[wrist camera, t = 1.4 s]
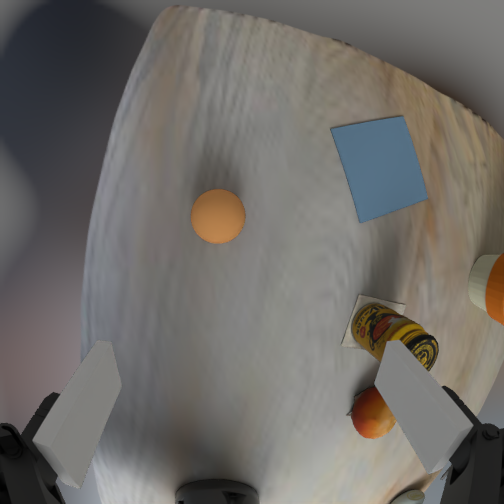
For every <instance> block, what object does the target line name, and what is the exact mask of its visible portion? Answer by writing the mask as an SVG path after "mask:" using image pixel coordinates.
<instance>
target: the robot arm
mask: <svg viewBox="0 0 504 504" xmlns="http://www.w3.org/2000/svg"><path fill="white" fill-rule="evenodd" d="M374 384H375V386H376V388H377V389H378V391H379V392H380V394H381V396H382V397H383V399H384V401H385V402H386V404H387V405H388V407H389V409H390V410H391V412H392V414H393V415H394V417H395V419H396V420H397V422H398V423H399V425H400V427H401V428H402V430H403V432H404V433H405V435H406V437H407V439H408V440H409V442H410V444H411V445H412V447H413V449H414V450H415V452H416V454H417V455H418V457H419V459H420V461H421V462H422V464H423V466H424V468H425V469H426V471H427V473H428V475H429V474H431V473H433V472H436V471H438V470H440V469H442V468H443V467H444V466H445V464H446V463H447V462H448V461H450V462H451V463H452V465H451V466H450V467H449V468H448V470H447V471H446V472H445V473H444V474H443V476H442V477H441V480H443V479H444V478H445V477H446V475H447V474H448V475H447V479H446V483H445V487H444V491H443V495H442V498H441V502H440V504H504V428H503V429H499V428H498V427H496V426H495V425H492V424H486V423H485V424H481V422H480V421H479V420H478V419H477V418H476V416H475V415H474V414H473V413H472V412H471V411H470V409H469V408H468V407H467V406H466V405H464V402H463V401H462V400H461V399H459V397H458V396H457V394H456V393H455V392H454V391H453V390H451V389H450V388H448V387H446V386H442V387H441V386H440V385H439V384H438V382H437V381H436V380H435V379H434V378H433V377H432V375H431V374H430V373H429V372H428V371H427V370H426V369H425V368H424V366H423V365H422V364H421V363H420V362H419V361H418V360H417V359H416V357H415V356H414V355H413V354H412V353H411V352H410V351H409V350H408V349H407V347H406V346H405V345H404V344H403V343H402V342H401V341H400V340H394V341H387V343H386V347H385V350H384V354H383V357H382V361H381V364H380V367H379V370H378V373H377V376H376V379H375V382H374ZM121 388H122V383H121V379H120V375H119V371H118V367H117V363H116V359H115V355H114V350H113V346H112V342H109V341H101V340H97V341H96V343H95V344H94V346H93V347H92V348H91V350H90V351H89V353H88V354H87V356H86V357H85V358H84V360H83V361H82V363H81V364H80V366H79V367H78V369H77V370H76V372H75V373H74V374H73V376H72V377H71V379H70V381H69V382H68V384H67V385H66V387H65V388H64V390H63V391H62V393H61V394H58V393H54V392H53V393H51V394H50V395H49V396H47V397H46V398H45V399H44V400H43V402H42V403H41V405H40V406H39V409H37V411H36V412H35V415H33V417H32V418H31V420H30V421H29V423H28V424H27V426H26V428H25V429H24V431H23V432H22V434H21V435H20V434H19V432H18V430H17V429H16V428H15V427H14V426H13V425H11V424H8V423H1V424H0V504H66V503H65V501H64V499H63V497H62V494H61V492H60V490H59V487H58V486H57V484H56V482H55V481H56V479H57V477H59V478H60V479H61V481H62V482H63V483H64V484H67V485H70V486H72V487H75V488H78V489H81V487H82V484H83V482H84V479H85V476H86V473H87V471H88V468H89V465H90V463H91V460H92V458H93V455H94V453H95V450H96V447H97V445H98V442H99V440H100V438H101V435H102V433H103V430H104V428H105V425H106V423H107V421H108V418H109V416H110V413H111V411H112V409H113V406H114V404H115V402H116V400H117V397H118V395H119V393H120V391H121ZM175 504H260V503H259V498H258V494H257V493H256V491H255V490H254V489H252V488H251V487H249V486H247V485H245V484H242V483H239V482H234V481H229V480H202V481H196V482H192V483H189V484H187V485H185V486H183V487H181V488H180V489H179V490H178V491H177V493H176V497H175Z"/></svg>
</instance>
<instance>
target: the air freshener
mask: <svg viewBox="0 0 504 504" xmlns="http://www.w3.org/2000/svg"><path fill="white" fill-rule="evenodd" d="M424 499H425V495H424V493H423V492H422V491H419V490H411V491H407V492H405V493H403V494H402V495H400V496H399V497H397V498H396V499H395V500H394V501H393V502H392V503H391V504H422V503H423V501H424Z"/></svg>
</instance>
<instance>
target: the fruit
mask: <svg viewBox="0 0 504 504" xmlns="http://www.w3.org/2000/svg"><path fill="white" fill-rule="evenodd" d="M354 398H355V401H354V406H353V411H352V413H351V414H349V415H346V416H351V419H352V421H353V425H354V427H355V429H356V430H357V431H358V432H359V434H360V435H362V436H363V437H365V438H371V439H375V438H378V437H381V436H383V435H385V434H387V433H388V432H389V431H390V430H391V429H392V428H393V426H394V424H395V423H396V421H397V420H396V419H395V417H394V415H393V414H392V412H391V410H390V409H389V407H388V405H387V404H386V402H385V401H384V399H383V397H382V396H381V394H380V392H379V391H378V389H377V388H376V387H373V388H369V389H366V390H365V391H363V392H362V393H361V394H359V395H357V396H354Z"/></svg>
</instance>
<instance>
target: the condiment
mask: <svg viewBox="0 0 504 504" xmlns="http://www.w3.org/2000/svg"><path fill="white" fill-rule="evenodd" d="M405 307H406V305H403V304H398V303H394V302H390V301H385V300H381V299H377V298H373V297H368V296H364V295H359V296H358V299H357V302H356V304H355V308H354V310H353V313H352V316H351V319H350V322H349V324H348V327H347V330H346V333H345V337H344V339H343V342H342V345H341V346H342V347H350V348H358V349H365V350H367V351H368V352H369V353H370V354H371V355H372V356H374V357H375V358H376V359H377V360H378V361H379V362H380V363H381V361H382V357H383V354H384V350H385V347H386V343H387V341H394V340H400V341H401V342H402V343H403V344H404V345H405V346H406V347H407V349H408V350H409V351H410V352H411V353H412V354H413V355H414V356H415V357H416V359H417V360H418V361H419V362H420V363H421V364H422V365H423V366H424V368H425V369H426V370H427V371H428V372H429V371H430V369H431V368H432V367H433V365H434V363H435V361H436V359H437V355H438V351H439V349H438V342H437V341H436V339H435V338H434V336H431V335H429V334H428V333H427V332H425V330H424V329H423V327H421V326H420V325H419V324H417V323H416V322H414V321H412V320H410V319H408V318H407V317H405V316H403V313H404V310H405Z"/></svg>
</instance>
